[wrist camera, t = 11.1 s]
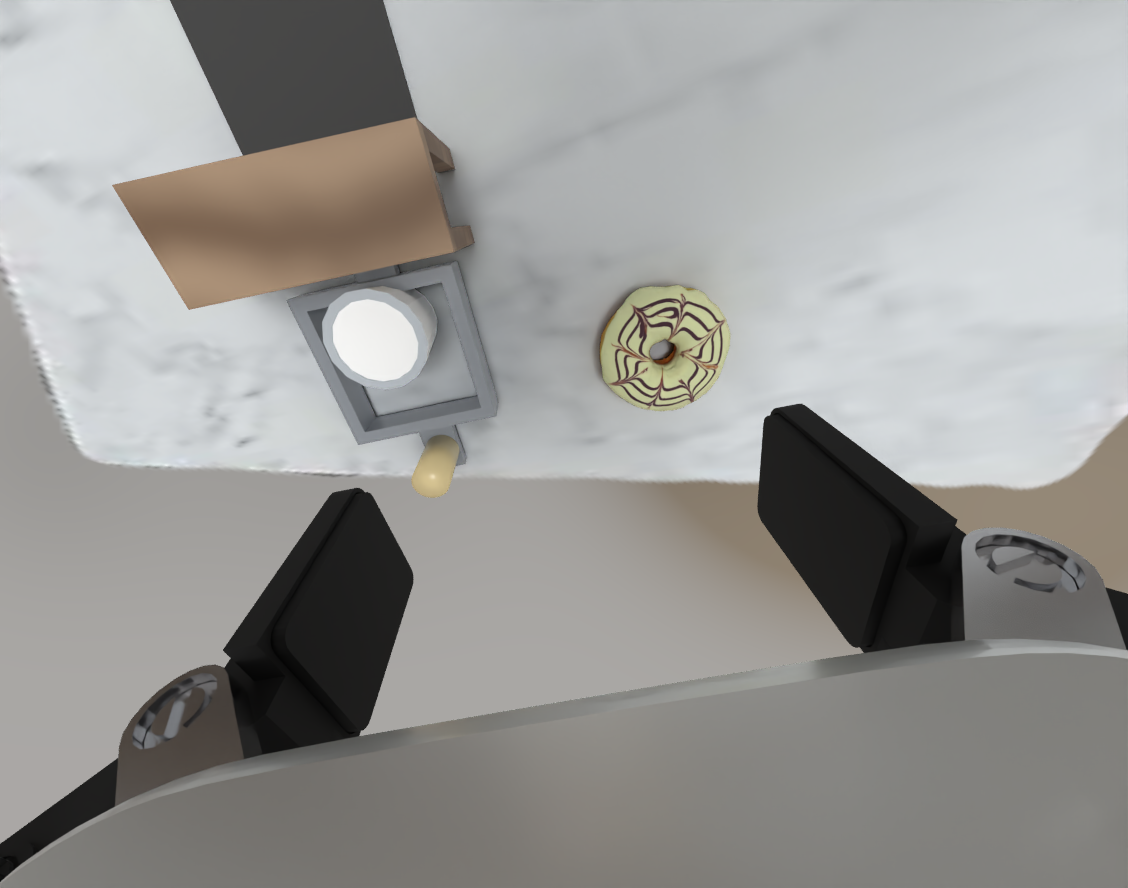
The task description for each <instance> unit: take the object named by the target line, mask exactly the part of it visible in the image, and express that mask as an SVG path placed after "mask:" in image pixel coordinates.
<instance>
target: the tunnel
mask: <svg viewBox="0 0 1128 888" xmlns="http://www.w3.org/2000/svg"><path fill="white" fill-rule="evenodd" d="M453 169H455V167H454V164H453V160H452V156H451V152H450V149H449V148H448V147H447V146H446V145H445V144H444V143H443V142H442V141H441V140H439V139H438V138H437V137H436V136H435V135H434V134H433V133H432V132H431V131H430V130H429V129H427V128H426V127H425V126H424V125H423V124H422V123H421V122H420V121H419V120H418V119H417V118H415V117H414V118H409V119H405V120H400V121H396V122H391V123H387V124H382V125H378V126H374V127H369V128H365V129H360V130H356V131H351V132H347V133H342V134H338V135H333V136H329V137H325V138H320V139H316V140H311V141H307V142H302V143H298V144H293V145H289V146H284V147H280V148H275V149H271V150H267V151H262V152H258V153H253V154H249V155H244V156H240V157H235V158H231V159H226V160H222V161H218V162H213V163H209V164H204V165H200V166H195V167H191V168H186V169H182V170H177V171H173V172H168V173H164V174H160V175H155V176H151V177H146V178H142V179H137V180H133V181H128V182H124V183H119V184H115V185H112V186H113V188H114V189H115V191H116V192H117V194H118V196H119V197H120V199H121V201H122V202H123V204H124V205H125V207H126V209H127V210H128V212H129V213H130V215H131V217H132V218H133V220H134V222H135V223H136V225H137V226H138V228H139V230H140V231H141V233H142V235H143V236H144V238H145V239H146V241H147V243H148V244H149V246H150V248H151V249H152V251H153V252H154V254H155V256H156V257H157V259H158V261H159V262H160V264H161V265H162V267H163V269H164V270H165V272H166V274H167V275H168V277H169V278H170V280H171V282H172V283H173V285H174V287H175V288H176V290H177V291H178V293H179V295H180V296H181V298H182V300H183V301H184V303H185V304H186V306H187V308H188V309H189V310H190V309H195V308H199V307H204V306H209V305H213V304H218V303H222V302H227V301H232V300H236V299H241V298H245V297H250V296H255V295H259V294H264V293H268V292H273V291H278V290H282V289H287V288H291V287H296V286H301V285H305V284H310V283H314V282H319V281H324V280H328V279H333V278H338V277H342V276H347V275H351V274H356V273H361V272H365V271H370V270H374V269H379V268H384V267H388V266H393V265H397V264H402V263H407V262H411V261H416V260H420V259H425V258H430V257H434V256H439V255H443V254H448V253H453V252H456V251H458V250H460V249H462V248H464V247H467V246H469V245H471V244H473V243H475V242H474V239H473V235H472V231H471V227H470V225H469V226H460V227H451V226H450V223H449V219H448V216H447V212H446V209H445V205H444V202H443V198H442V195H441V191H440V188H439V184H438V181H437V177H436V174H435V171H436V172H438V173H440V172H444V171H449V170H453Z"/></svg>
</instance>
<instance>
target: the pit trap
mask: <svg viewBox="0 0 1128 888" xmlns="http://www.w3.org/2000/svg"><path fill="white" fill-rule="evenodd" d="M170 1H171V3H172V6H173V8H174V10H175V12H176V14H177V16H178V18H179V20H180V23H181V25H182V27H183V29H184V31H185V33H186V35H187V37H188V40H189V42H190V44H191V46H192V48H193V50H194V52H195V54H196V57H197V59H198V61H199V63H200V65H201V67H202V69H203V71H204V74H205V76H206V78H207V80H208V82H209V84H210V86H211V89H212V91H213V93H214V95H215V97H216V99H217V101H218V103H219V106H220V108H221V110H222V112H223V114H224V116H225V118H226V120H227V123H228V125H229V127H230V129H231V131H232V133H233V135H234V137H235V140H236V142H237V144H238V146H239V148H240V150H241V152H242V154H243V156H244V155H249V154H253V153H258V152H262V151H267V150H271V149H275V148H280V147H284V146H289V145H293V144H298V143H302V142H307V141H311V140H316V139H320V138H325V137H329V136H333V135H338V134H342V133H347V132H351V131H356V130H360V129H365V128H369V127H374V126H378V125H382V124H387V123H391V122H396V121H400V120H405V119H409V118H414V117H415V118H417V117H416V113H415V110H414V106H413V103H412V100H411V96H410V93H409V89H408V86H407V82H406V79H405V75H404V72H403V68H402V65H401V62H400V58H399V55H398V51H397V48H396V44H395V41H394V37H393V34H392V31H391V27H390V24H389V20H388V17H387V13H386V10H385V6H384V3H383V0H170Z"/></svg>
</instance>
